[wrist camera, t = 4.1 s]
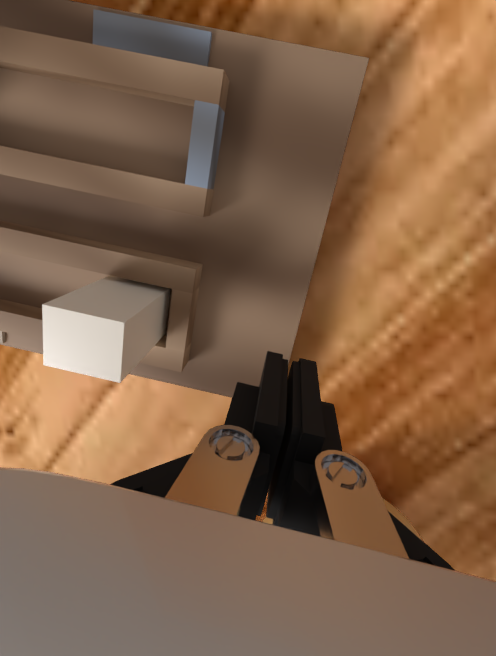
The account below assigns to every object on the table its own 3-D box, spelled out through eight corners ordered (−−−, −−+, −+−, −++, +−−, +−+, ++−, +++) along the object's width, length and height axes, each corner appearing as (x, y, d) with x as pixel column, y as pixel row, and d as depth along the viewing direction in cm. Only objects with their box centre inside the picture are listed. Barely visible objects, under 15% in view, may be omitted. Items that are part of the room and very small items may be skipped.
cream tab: (165, 333, 19) (120, 382, 14) (109, 320, 19) (43, 365, 14) (170, 287, 18) (124, 322, 13) (111, 274, 18) (42, 304, 13)
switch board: (277, 390, 22) (276, 422, 19) (-138, 295, 23) (-206, 310, 20) (359, 74, 16) (377, 43, 13) (-209, -36, 17) (-323, -89, 14)
